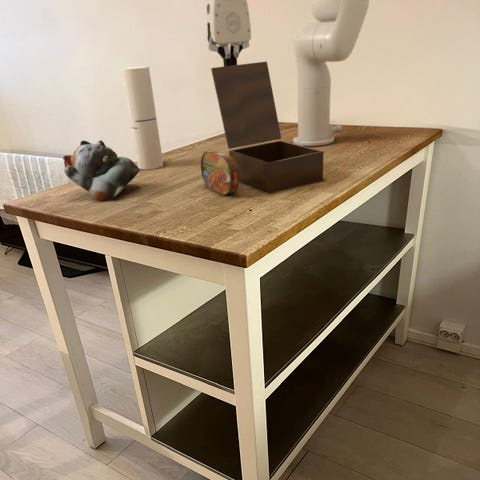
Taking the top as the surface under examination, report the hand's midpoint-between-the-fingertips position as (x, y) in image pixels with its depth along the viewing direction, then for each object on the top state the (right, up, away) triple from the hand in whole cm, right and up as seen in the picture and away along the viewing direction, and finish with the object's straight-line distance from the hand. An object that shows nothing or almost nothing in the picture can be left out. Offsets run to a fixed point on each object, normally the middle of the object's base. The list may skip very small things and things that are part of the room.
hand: (231, 76), depth 121 cm
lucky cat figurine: (-30, -31, -4) cm, 43 cm away
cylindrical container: (-23, -17, +17) cm, 34 cm away
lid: (+4, -8, -3) cm, 10 cm away
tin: (-2, -31, -8) cm, 32 cm away
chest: (+11, -27, -3) cm, 29 cm away
